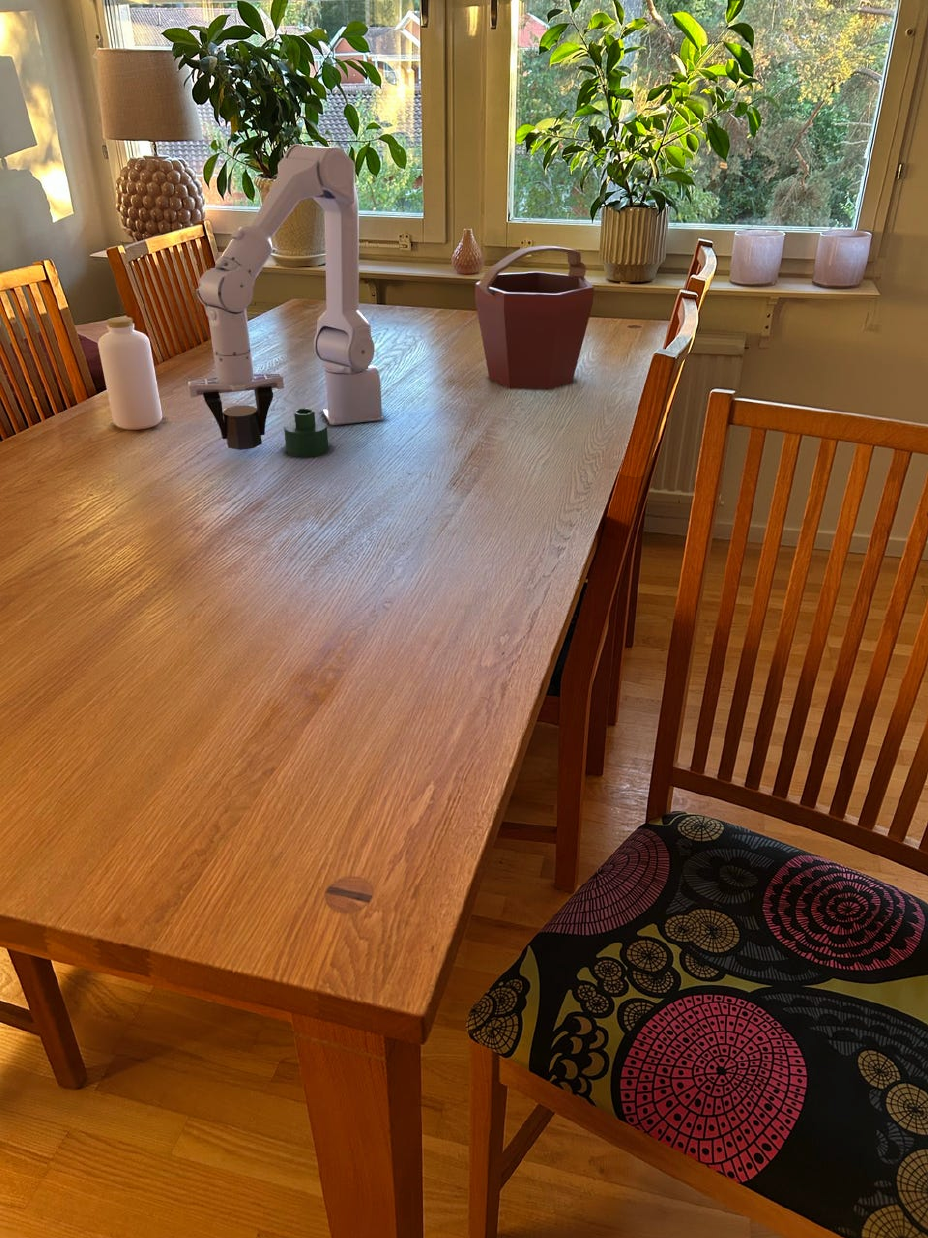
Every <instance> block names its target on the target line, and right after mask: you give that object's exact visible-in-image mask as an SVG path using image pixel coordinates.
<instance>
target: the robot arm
mask: <svg viewBox="0 0 928 1238" xmlns="http://www.w3.org/2000/svg"><path fill="white" fill-rule="evenodd" d="M355 174H356V173H355V161H354V160H352V158H351V157H350V156H349V155H348V154H347V152H346V151H345V150H344V149H342V148H341V147H339V146H330V147H329V146H315V145H304V144H301V143H295V144H293V145H291V146H289V147H288V149H286V152H285V153H284V156H283V157H282V159H281V160H280V161H279V162H278V163H277V176H276V178H275V180H274V181H273V184H272V185H271V187H270V189H269V191H268V193H267V195H266V197H265V198H264V200H263V202H262V204H261V206H260V208H259V209H258V211H257V214H256V215H255V216H254V219H253V220H252V223H251V224H249V225H242V226H240V227H238V229H234V231H232V234H230V236H231V238H232V239H231V240H230V241H229V244H228V245H227V247H226V248H225V250H224V251H223V253H222V255H221V256H220V257H218V258H217V260H216V261H215V265H214V267H211V268H209V269H207V270H205V272H203V274H202V275H201V276H200V278H199V280H198V281H199V282H198V288H196V289H195V293H196V296H197V298H198V301H199V302H200V303H201V304H202V305H203V306H204V308H205V315H206V317H208V323H209V331H210V338H211V345H212V346H211V347H212V354H213V359H214V366H215V372H216V373H215V375H216V376H213V377H209V378H204V379H199V380H191V381H188V382H187V385H188V392H189V396H190V398H196V397H199V396H202V397H203V399H204V403H205V404H206V406H207V408H208V409H209V410H210V412H211V413H212V415H213V417H214V419H215V421H216V424H217V425H218V427H219V430H220V434H221V438H222V440H226V439H227V433H226V428H225V424H224V418H223V411H224V410H223V402H222V399H221V395H220V394H224V393H235V392H247V391H253V392H254V398H255V405H256V408H257V412H258V415H259V423H260V433H261V436H265V435H266V423H267V418H268V417H267V416H268V413H269V410H270V407H271V403H272V402H273V399H274V392H273V389H277V390H283V389H285V384H284V376H283V374H282V373H280V372H279V373H254V363H253V358H252V356H253V355H252V347H251V339H250V331H249V330H250V329H249V322H248V313H247V308H248V306H249V305H250V304H252V301H253V298H254V286H255V284H256V282H255V281H256V279H257V277H258V276H259V274H260V272H261V271H262V269H263V268H264V266H265V265H266V263H267V262H268V261H269V259H270V256H271V255H272V254H273V251H274V250H273V244H272V238H273V237H274V236H275V235H276V233H277V232H278V230H279V229H280V228H281V227H282V225H283V224H284V222H285V221H286V220H287V219H288V217H289V216H290V214H291V213H292V212H293V210H294V209H295V208H296V207H297V205H298V203H299V202H300V201H302V200H307V199H313V200H314V201H315V202H316V203H317V204H318V205H319V206H320V207H321V208H322V210H323V211H324V248H325V249H324V253H325V255H324V257H325V259H324V261H325V302H326V305H325V309H326V310H325V311H324V312H323V313H322V314H321V315H320V316H319V317H318V318H317V321H316V325H317V326H316V332H315V336H314V339H313V350H314V354H315V356H316V357H317V358H318V359H319V360H320V361H321V367H323V368H324V376H325V377H324V378H325V388H326V389H325V390H326V406H327V408H325V409H322V414H323V415H324V416H325V418H326V420H327V422H328V423H329V425H331V426H339V425H340V426H341V425H348V424H349V425H350V424H357V423H367V422H368V423H369V422H377V421H383V420H384V417H383V410H382V409H383V408H382V390H381V389H382V387H381V386H382V385H381V377H380V373H379V370H378V367H377V366H376V365H371V364H372V362H373V360H374V357H375V352H376V351H375V349H376V348H375V342H374V340H373V337H372V326H371V323H370V322H369V321H368V320H367V319H366V317H364V316H363V314H362V313H361V312H360V293H359V292H360V288H359V286H360V285H359V283H360V282H359V281H360V275H359V274H360V273H359V271H360V270H359V268H360V265H359V262H360V259H359V257H360V256H359V254H360V252H359V249H360V248H359V246H360V245H359V238H360V237H359V236H360V235H359V234H360V233H359V232H360V231H359V196H358V191H357V188H356V185H355V183H356V181H355V177H356V176H355Z"/></svg>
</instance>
